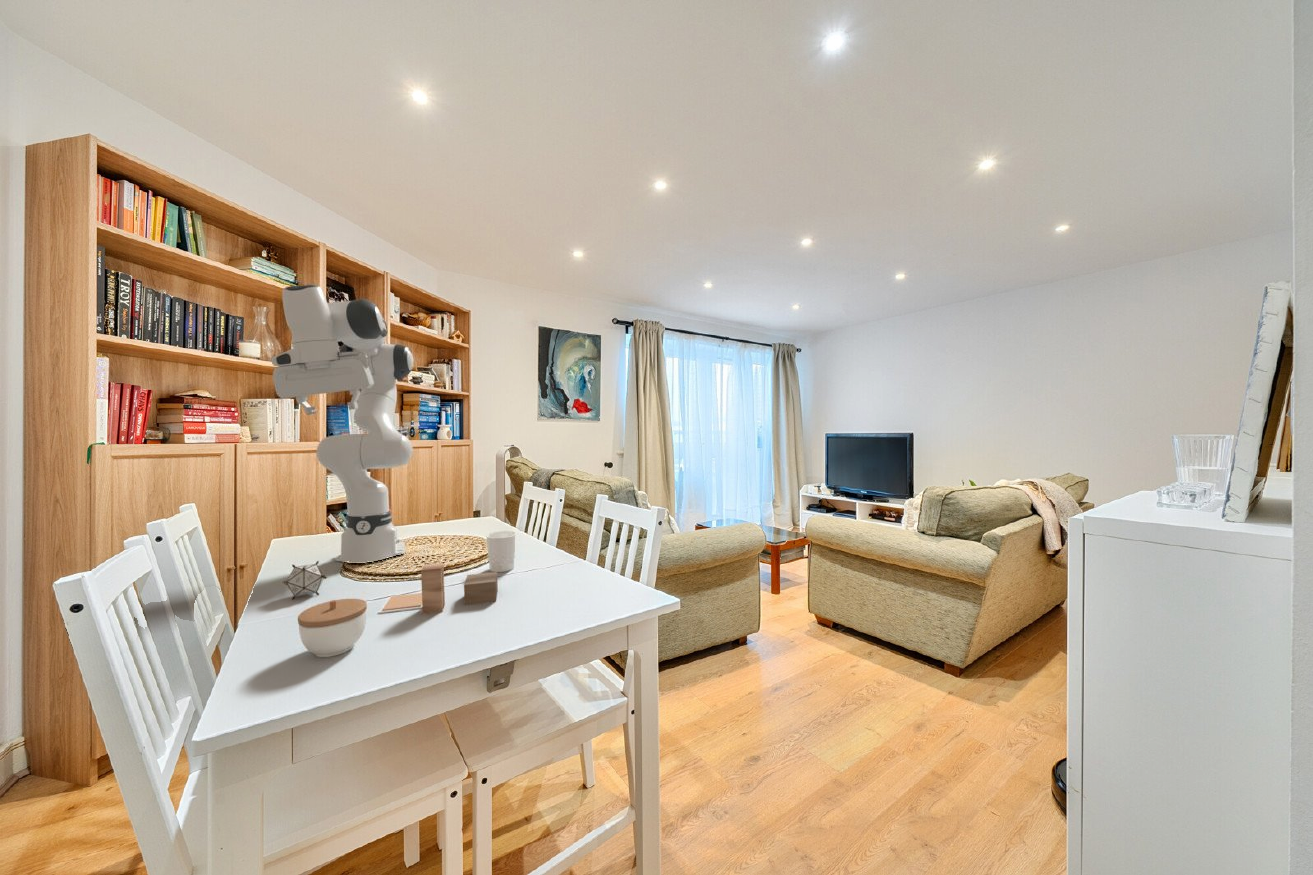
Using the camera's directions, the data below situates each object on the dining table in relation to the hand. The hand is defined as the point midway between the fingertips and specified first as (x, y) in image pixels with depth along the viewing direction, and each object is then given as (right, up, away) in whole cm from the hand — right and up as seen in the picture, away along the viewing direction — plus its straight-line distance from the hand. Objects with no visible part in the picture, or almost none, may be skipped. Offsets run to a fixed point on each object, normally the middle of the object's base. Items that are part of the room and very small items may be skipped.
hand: (332, 411), depth 113 cm
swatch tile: (+20, -46, -3) cm, 50 cm away
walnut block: (+37, -46, 0) cm, 58 cm away
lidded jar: (+18, -47, -25) cm, 56 cm away
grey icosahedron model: (-8, -46, +2) cm, 47 cm away
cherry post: (+28, -46, -7) cm, 54 cm away
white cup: (+34, -45, +21) cm, 60 cm away
